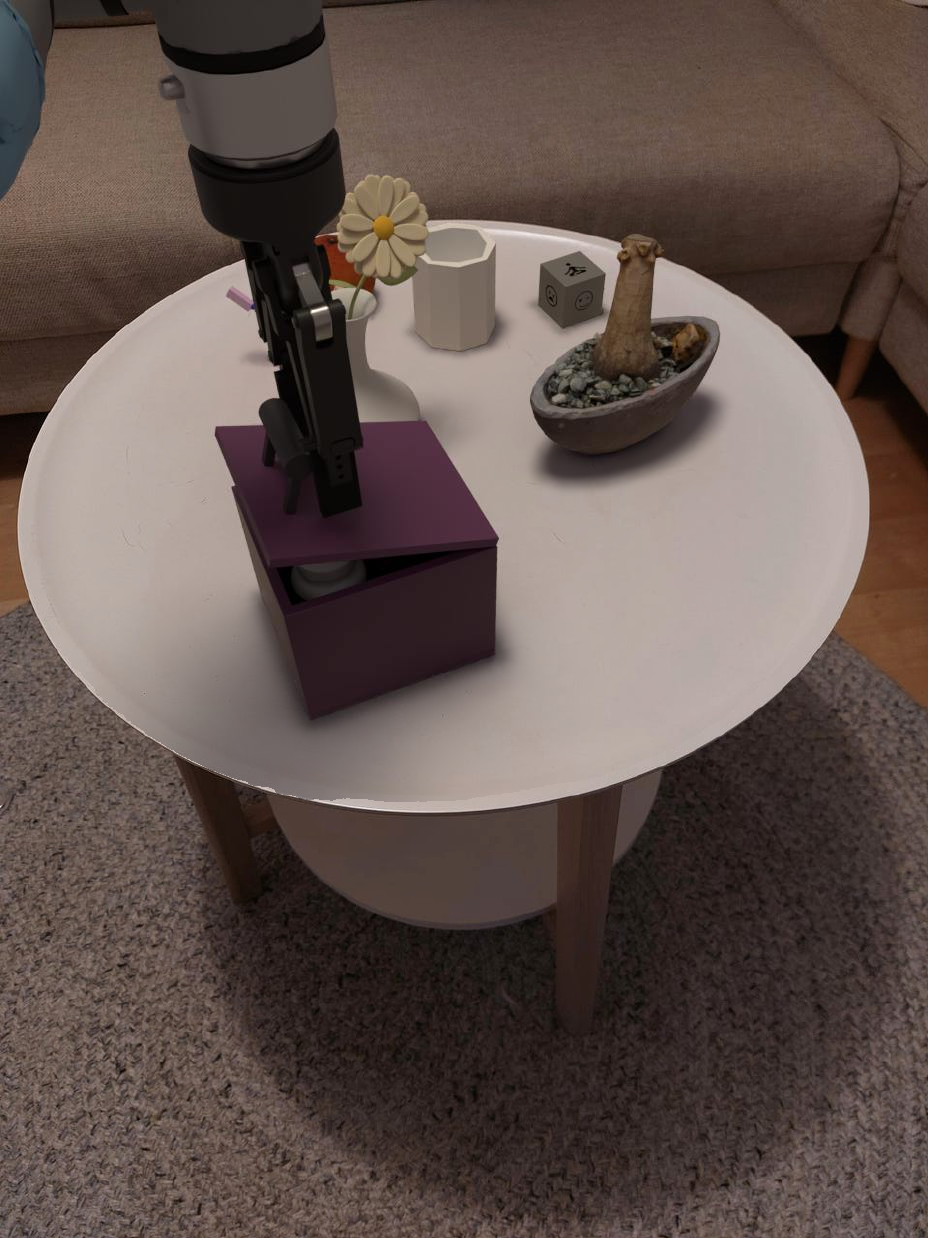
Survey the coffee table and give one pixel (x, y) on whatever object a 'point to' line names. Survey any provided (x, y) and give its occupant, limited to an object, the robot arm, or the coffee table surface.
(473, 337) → the mug
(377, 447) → the lid
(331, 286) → the fruit
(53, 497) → the coffee table surface
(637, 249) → the planter
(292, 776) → the coffee table surface
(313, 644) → the chest
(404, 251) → the flower in vase
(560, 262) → the dice cube
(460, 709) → the coffee table surface
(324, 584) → the pill bottle
